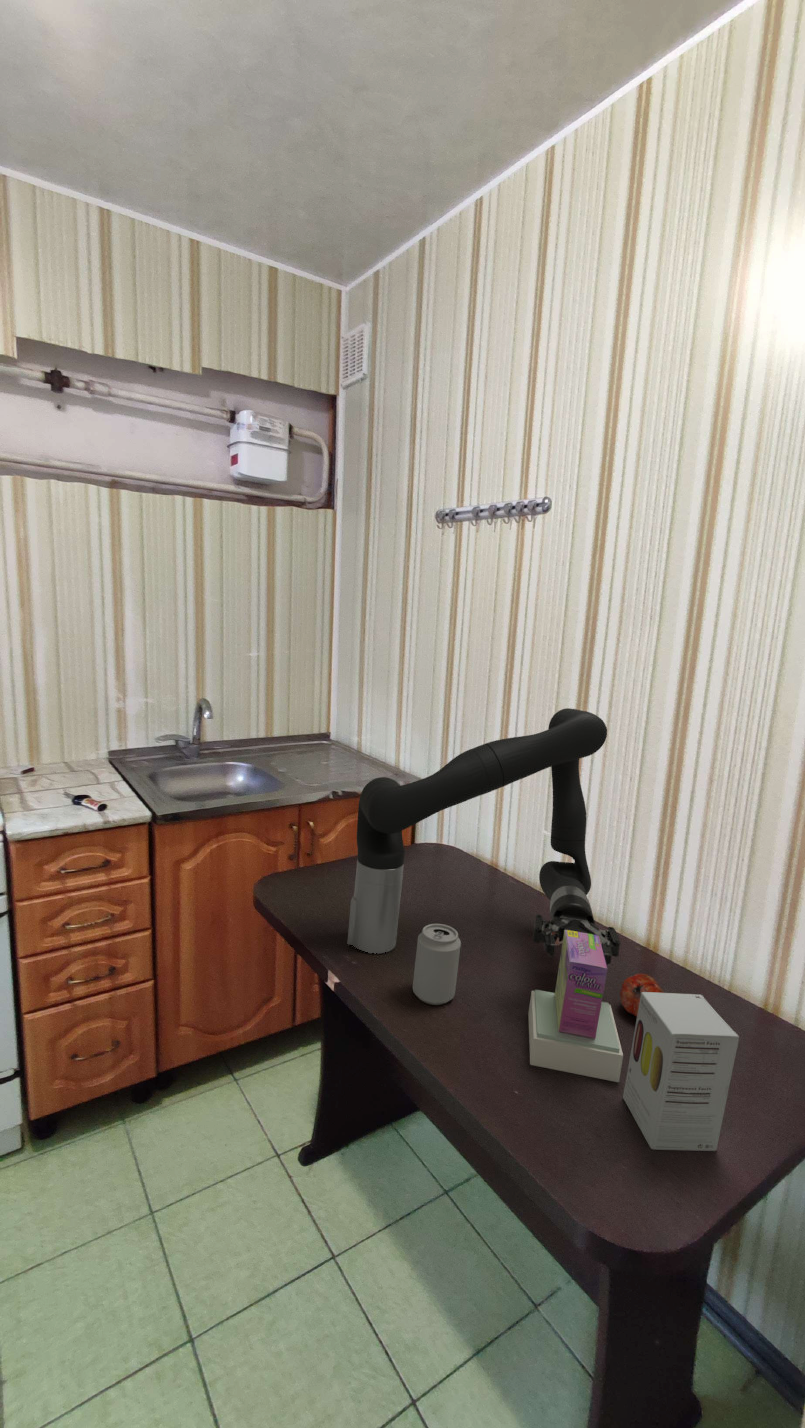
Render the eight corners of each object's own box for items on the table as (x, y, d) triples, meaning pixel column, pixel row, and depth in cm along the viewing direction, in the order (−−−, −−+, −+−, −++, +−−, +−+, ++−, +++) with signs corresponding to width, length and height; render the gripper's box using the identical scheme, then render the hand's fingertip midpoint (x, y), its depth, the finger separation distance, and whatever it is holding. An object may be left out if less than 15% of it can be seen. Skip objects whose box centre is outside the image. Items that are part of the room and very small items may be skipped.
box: (596, 1040, 97) (608, 967, 95) (558, 1032, 98) (568, 960, 96) (589, 1001, 107) (599, 934, 106) (554, 994, 108) (563, 928, 107)
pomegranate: (625, 1009, 119) (602, 989, 113) (649, 977, 120) (627, 956, 114) (657, 1037, 113) (635, 1018, 107) (682, 1003, 114) (661, 982, 108)
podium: (530, 1064, 98) (534, 1034, 97) (528, 1014, 111) (532, 987, 110) (618, 1082, 96) (623, 1051, 95) (606, 1028, 109) (611, 1001, 108)
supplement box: (620, 1096, 93) (638, 989, 90) (681, 1098, 94) (701, 991, 91) (651, 1152, 84) (672, 1033, 81) (719, 1153, 85) (741, 1035, 82)
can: (459, 989, 116) (466, 927, 114) (448, 1012, 109) (456, 946, 107) (419, 978, 118) (426, 917, 117) (406, 1000, 111) (413, 935, 110)
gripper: (535, 887, 122) (537, 927, 106) (613, 900, 119) (627, 942, 103) (530, 925, 123) (531, 969, 107) (607, 938, 120) (620, 985, 105)
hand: (578, 956), depth 105 cm, fingers open, 8 cm apart
